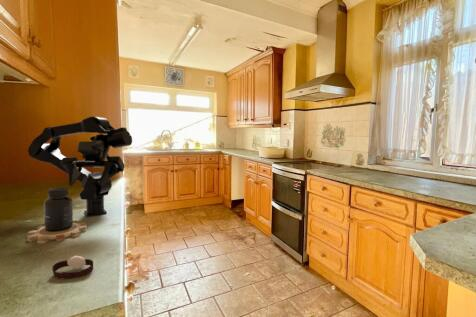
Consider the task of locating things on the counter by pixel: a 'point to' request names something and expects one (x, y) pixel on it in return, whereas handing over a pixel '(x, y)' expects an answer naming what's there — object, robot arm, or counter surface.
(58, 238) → the sprocket wheel
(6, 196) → the counter surface
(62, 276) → the watch
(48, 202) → the supplement bottle
